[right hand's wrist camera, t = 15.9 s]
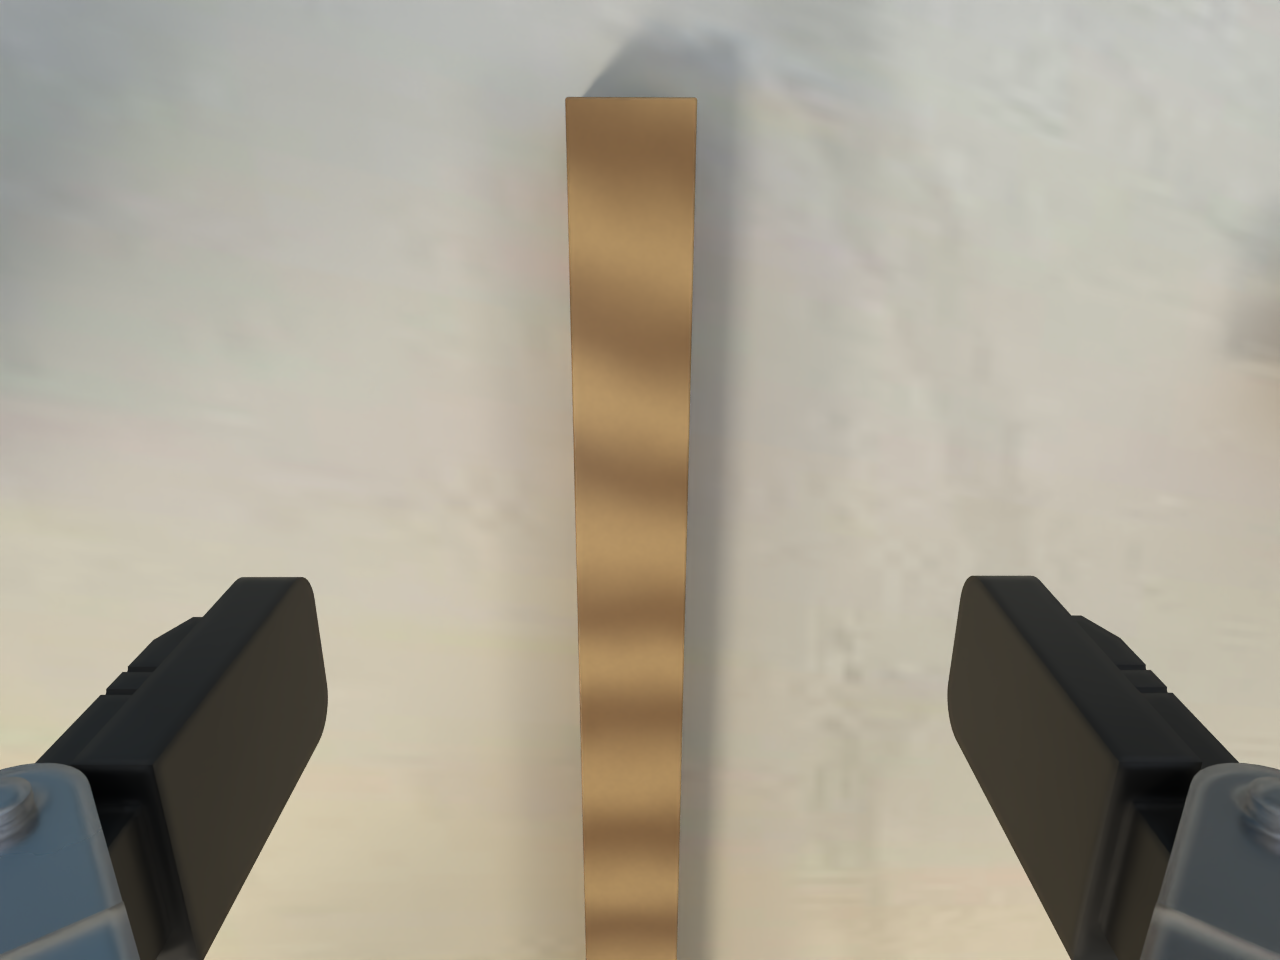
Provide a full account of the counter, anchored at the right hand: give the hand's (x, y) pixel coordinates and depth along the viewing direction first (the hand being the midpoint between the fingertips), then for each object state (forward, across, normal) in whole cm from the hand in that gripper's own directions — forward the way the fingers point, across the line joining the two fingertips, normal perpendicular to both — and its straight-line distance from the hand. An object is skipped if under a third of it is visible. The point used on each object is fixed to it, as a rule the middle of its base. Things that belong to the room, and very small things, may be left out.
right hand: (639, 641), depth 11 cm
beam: (+32, 0, -27) cm, 42 cm away
